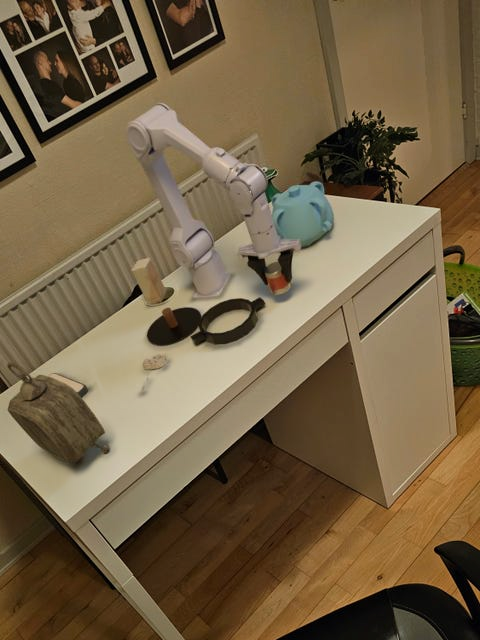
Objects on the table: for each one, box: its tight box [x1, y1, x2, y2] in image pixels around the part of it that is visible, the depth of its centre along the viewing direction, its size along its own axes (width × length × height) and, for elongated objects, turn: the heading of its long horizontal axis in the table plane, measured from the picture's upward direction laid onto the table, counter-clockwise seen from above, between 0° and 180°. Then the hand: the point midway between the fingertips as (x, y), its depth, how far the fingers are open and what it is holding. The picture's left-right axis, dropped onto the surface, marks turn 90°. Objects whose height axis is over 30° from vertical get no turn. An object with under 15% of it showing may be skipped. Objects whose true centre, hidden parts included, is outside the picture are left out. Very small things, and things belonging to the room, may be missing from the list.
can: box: [264, 261, 292, 296], centre depth 124 cm, size 5×5×6 cm
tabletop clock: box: [6, 361, 110, 463], centre depth 105 cm, size 14×9×25 cm, turn 52°
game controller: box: [141, 353, 168, 391], centre depth 124 cm, size 6×12×3 cm, turn 2°
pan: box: [190, 296, 266, 346], centre depth 127 cm, size 14×19×3 cm
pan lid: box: [146, 306, 203, 347], centre depth 134 cm, size 15×15×6 cm
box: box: [130, 257, 167, 305], centre depth 146 cm, size 5×4×11 cm
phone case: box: [47, 372, 88, 398], centre depth 132 cm, size 9×2×16 cm
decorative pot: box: [270, 181, 335, 248], centre depth 142 cm, size 16×16×14 cm
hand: (278, 281), depth 125 cm, fingers closed on can, 5 cm apart
